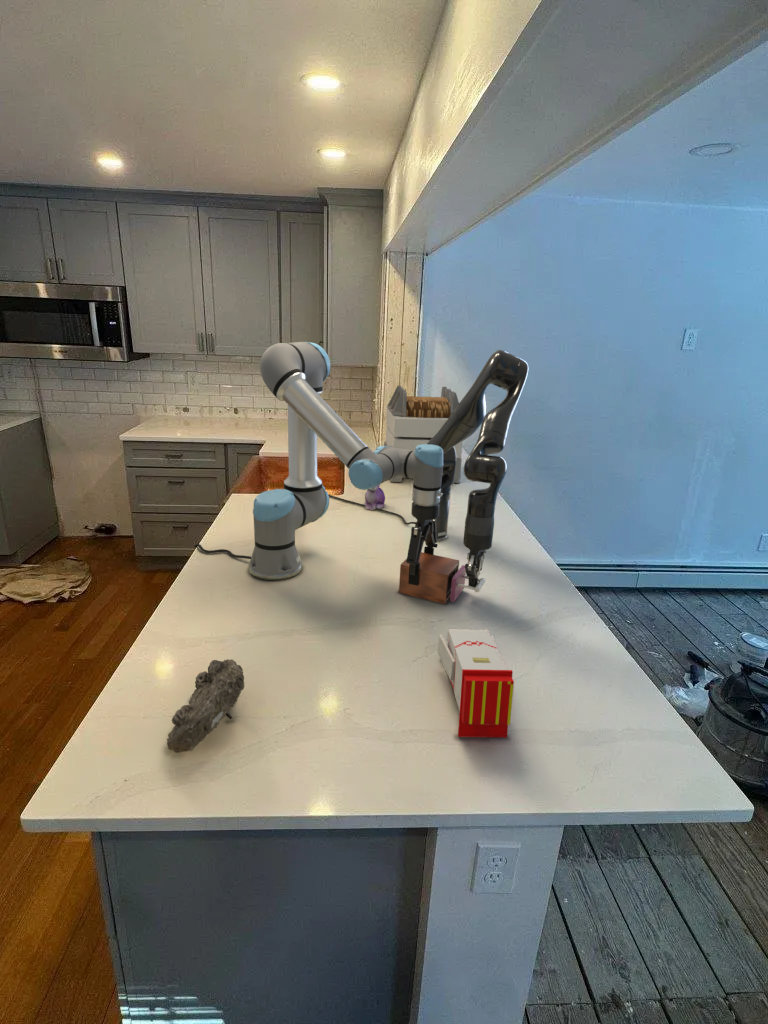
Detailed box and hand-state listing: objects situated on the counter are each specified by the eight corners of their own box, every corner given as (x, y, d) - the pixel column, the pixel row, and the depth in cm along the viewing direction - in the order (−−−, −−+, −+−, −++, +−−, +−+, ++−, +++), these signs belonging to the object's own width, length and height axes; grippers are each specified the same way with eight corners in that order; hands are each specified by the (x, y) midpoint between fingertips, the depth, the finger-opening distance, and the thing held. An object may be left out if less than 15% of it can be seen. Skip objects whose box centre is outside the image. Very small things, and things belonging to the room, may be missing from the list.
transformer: (382, 463, 289) (386, 382, 275) (445, 464, 293) (451, 384, 279) (390, 482, 257) (394, 392, 243) (460, 483, 261) (468, 394, 247)
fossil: (192, 660, 117) (244, 628, 112) (224, 691, 120) (276, 661, 115) (142, 746, 98) (202, 712, 93) (182, 779, 101) (242, 748, 96)
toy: (488, 613, 130) (523, 677, 101) (484, 667, 133) (517, 744, 104) (435, 612, 130) (455, 676, 101) (432, 666, 133) (451, 743, 103)
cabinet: (456, 587, 163) (459, 560, 160) (445, 604, 154) (447, 575, 151) (412, 577, 168) (414, 550, 165) (398, 592, 159) (400, 564, 156)
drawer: (485, 592, 159) (487, 570, 157) (476, 607, 151) (478, 584, 148) (423, 578, 166) (425, 556, 163) (411, 591, 158) (412, 569, 155)
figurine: (369, 511, 219) (370, 474, 214) (358, 503, 228) (359, 467, 223) (390, 509, 224) (392, 472, 219) (378, 501, 232) (380, 465, 227)
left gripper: (424, 517, 141) (418, 596, 149) (452, 493, 162) (446, 563, 169) (396, 512, 144) (392, 589, 152) (427, 489, 164) (422, 558, 172)
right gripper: (486, 540, 142) (479, 601, 148) (498, 524, 153) (492, 581, 159) (457, 534, 145) (452, 595, 150) (471, 519, 156) (466, 575, 162)
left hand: (420, 575), depth 160 cm, fingers closed on cabinet, 11 cm apart
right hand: (472, 588), depth 155 cm, fingers closed
